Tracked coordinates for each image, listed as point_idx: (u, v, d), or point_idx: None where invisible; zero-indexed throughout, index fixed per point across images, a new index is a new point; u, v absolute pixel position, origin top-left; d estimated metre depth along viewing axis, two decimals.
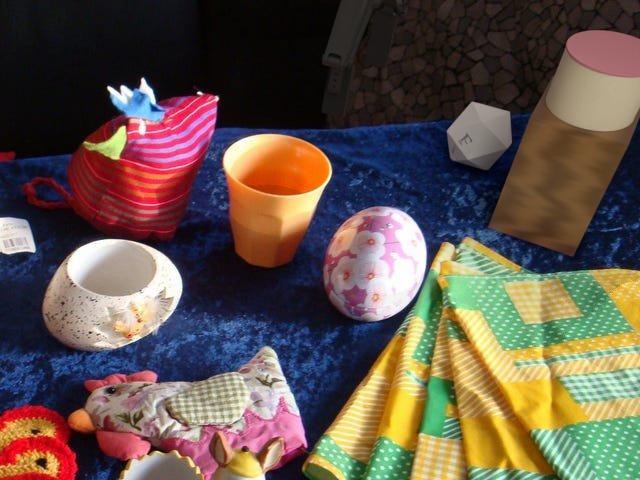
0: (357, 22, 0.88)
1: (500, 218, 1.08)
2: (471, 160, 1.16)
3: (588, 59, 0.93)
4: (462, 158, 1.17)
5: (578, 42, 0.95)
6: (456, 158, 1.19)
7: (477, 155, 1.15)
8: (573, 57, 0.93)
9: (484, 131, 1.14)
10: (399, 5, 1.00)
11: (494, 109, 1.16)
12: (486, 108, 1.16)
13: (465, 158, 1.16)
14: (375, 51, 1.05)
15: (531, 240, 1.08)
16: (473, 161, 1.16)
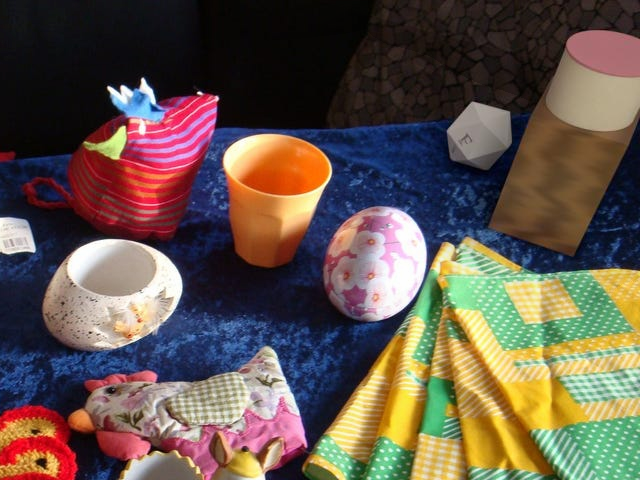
0: None
1: (500, 218, 1.08)
2: (471, 160, 1.16)
3: (588, 59, 0.93)
4: (462, 158, 1.17)
5: (578, 42, 0.95)
6: (456, 158, 1.19)
7: (477, 155, 1.15)
8: (573, 57, 0.93)
9: (484, 131, 1.14)
10: None
11: (494, 109, 1.16)
12: (486, 108, 1.16)
13: (465, 158, 1.16)
14: None
15: (531, 240, 1.08)
16: (473, 161, 1.16)
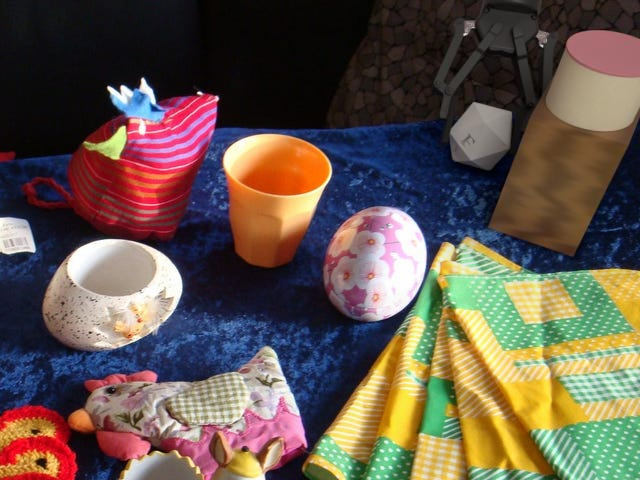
0: (448, 52, 1.15)
1: (500, 218, 1.08)
2: (474, 161, 1.16)
3: (588, 59, 0.93)
4: (465, 159, 1.17)
5: (578, 42, 0.95)
6: (458, 159, 1.19)
7: (480, 156, 1.15)
8: (573, 57, 0.93)
9: (486, 131, 1.14)
10: (530, 97, 1.14)
11: (496, 109, 1.15)
12: (488, 109, 1.16)
13: (468, 159, 1.16)
14: None
15: (531, 240, 1.08)
16: (476, 162, 1.16)
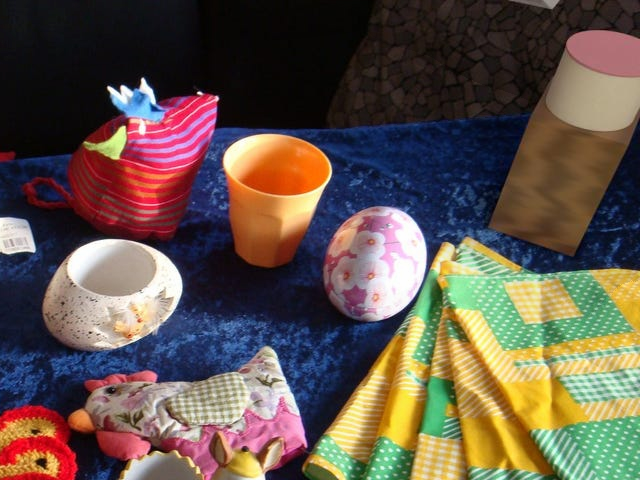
0: None
1: (500, 218, 1.08)
2: None
3: (588, 59, 0.93)
4: None
5: (578, 42, 0.95)
6: None
7: None
8: (573, 57, 0.93)
9: None
10: None
11: None
12: None
13: None
14: None
15: (531, 240, 1.08)
16: None
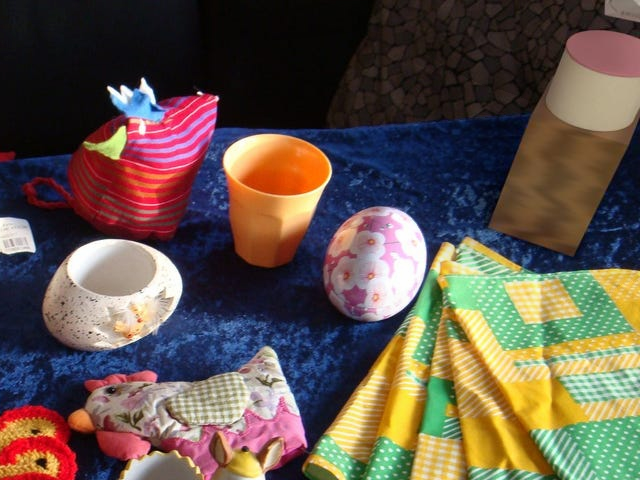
0: None
1: (500, 218, 1.08)
2: None
3: (588, 59, 0.93)
4: (628, 5, 0.87)
5: (578, 42, 0.95)
6: (616, 8, 0.89)
7: None
8: (573, 57, 0.93)
9: None
10: None
11: None
12: None
13: (633, 4, 0.86)
14: None
15: (531, 240, 1.08)
16: None
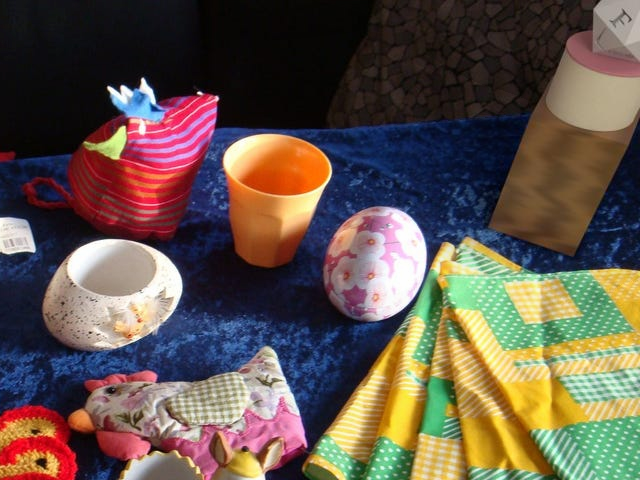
0: None
1: (500, 218, 1.08)
2: (628, 46, 0.89)
3: (588, 59, 0.93)
4: (614, 45, 0.90)
5: (578, 42, 0.95)
6: (603, 47, 0.92)
7: (638, 39, 0.88)
8: (573, 57, 0.93)
9: None
10: None
11: None
12: None
13: (620, 44, 0.89)
14: None
15: (531, 240, 1.08)
16: (630, 48, 0.89)
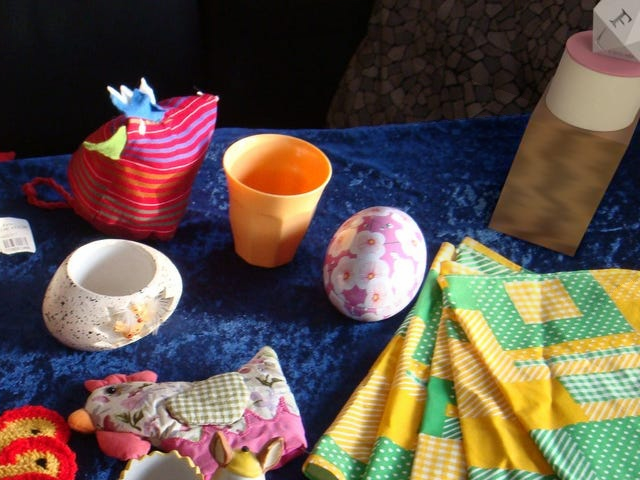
0: None
1: (500, 218, 1.08)
2: (628, 46, 0.89)
3: (588, 59, 0.93)
4: (614, 45, 0.90)
5: (578, 42, 0.95)
6: (603, 47, 0.92)
7: (638, 39, 0.88)
8: (573, 57, 0.93)
9: None
10: None
11: None
12: None
13: (620, 44, 0.89)
14: None
15: (531, 240, 1.08)
16: (630, 48, 0.89)
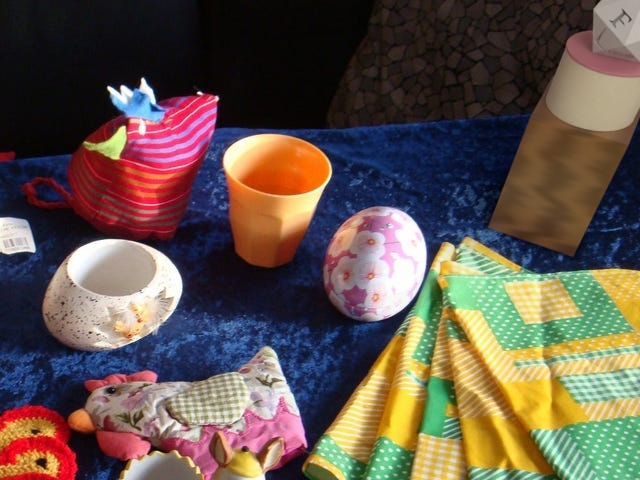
0: None
1: (500, 218, 1.08)
2: (628, 46, 0.89)
3: (588, 59, 0.93)
4: (614, 45, 0.90)
5: (578, 42, 0.95)
6: (603, 47, 0.92)
7: (638, 39, 0.88)
8: (573, 57, 0.93)
9: None
10: None
11: None
12: None
13: (620, 44, 0.89)
14: None
15: (531, 240, 1.08)
16: (630, 48, 0.89)
